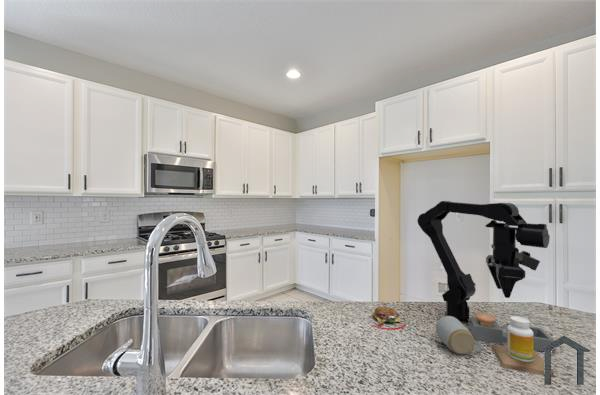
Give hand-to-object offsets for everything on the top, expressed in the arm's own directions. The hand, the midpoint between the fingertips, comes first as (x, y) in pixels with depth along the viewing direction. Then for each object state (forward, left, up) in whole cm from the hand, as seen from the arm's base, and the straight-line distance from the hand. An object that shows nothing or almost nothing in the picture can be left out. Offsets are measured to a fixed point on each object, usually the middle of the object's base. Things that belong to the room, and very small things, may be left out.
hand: (503, 292), depth 87 cm
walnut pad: (-1, -16, -13) cm, 21 cm away
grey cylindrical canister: (-14, -15, -13) cm, 24 cm away
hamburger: (-35, -4, -14) cm, 38 cm away
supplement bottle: (-1, -16, -12) cm, 20 cm away
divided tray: (0, -4, -13) cm, 13 cm away
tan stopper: (-6, -4, -12) cm, 14 cm away
